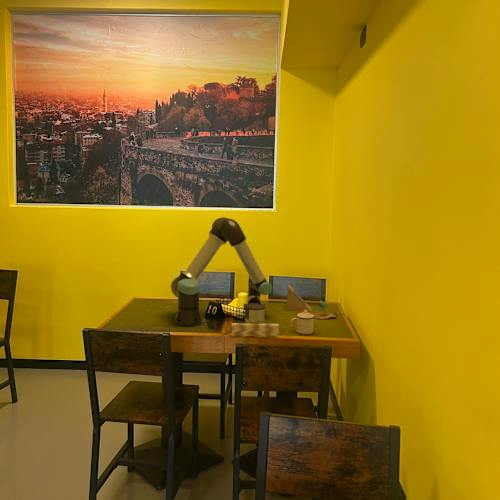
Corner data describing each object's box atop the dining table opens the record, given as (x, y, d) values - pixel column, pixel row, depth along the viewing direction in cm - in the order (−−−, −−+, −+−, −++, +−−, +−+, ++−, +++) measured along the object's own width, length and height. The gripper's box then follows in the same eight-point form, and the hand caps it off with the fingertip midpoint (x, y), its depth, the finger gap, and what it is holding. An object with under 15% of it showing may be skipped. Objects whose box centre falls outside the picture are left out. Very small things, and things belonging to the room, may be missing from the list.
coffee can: (240, 332, 245) (241, 305, 243) (252, 327, 253) (253, 302, 251) (256, 336, 238) (257, 309, 236) (268, 331, 246) (268, 305, 244)
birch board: (231, 336, 237) (231, 324, 236) (231, 334, 240) (231, 323, 239) (278, 337, 238) (279, 325, 237) (278, 335, 241) (278, 323, 240)
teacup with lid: (313, 330, 251) (314, 308, 249) (313, 335, 242) (314, 313, 240) (290, 328, 252) (291, 307, 251) (290, 333, 243) (291, 312, 242)
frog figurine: (339, 321, 269) (338, 296, 267) (308, 322, 273) (306, 297, 271) (340, 316, 278) (338, 292, 276) (309, 317, 282) (308, 293, 281)
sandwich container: (311, 311, 289) (312, 287, 287) (286, 310, 290) (287, 286, 288) (311, 308, 297) (312, 284, 295) (287, 306, 299) (288, 283, 297)
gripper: (265, 309, 277) (266, 320, 254) (243, 309, 277) (242, 320, 254) (265, 297, 276) (267, 307, 253) (243, 296, 276) (243, 306, 253)
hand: (255, 313), depth 253 cm, fingers closed
